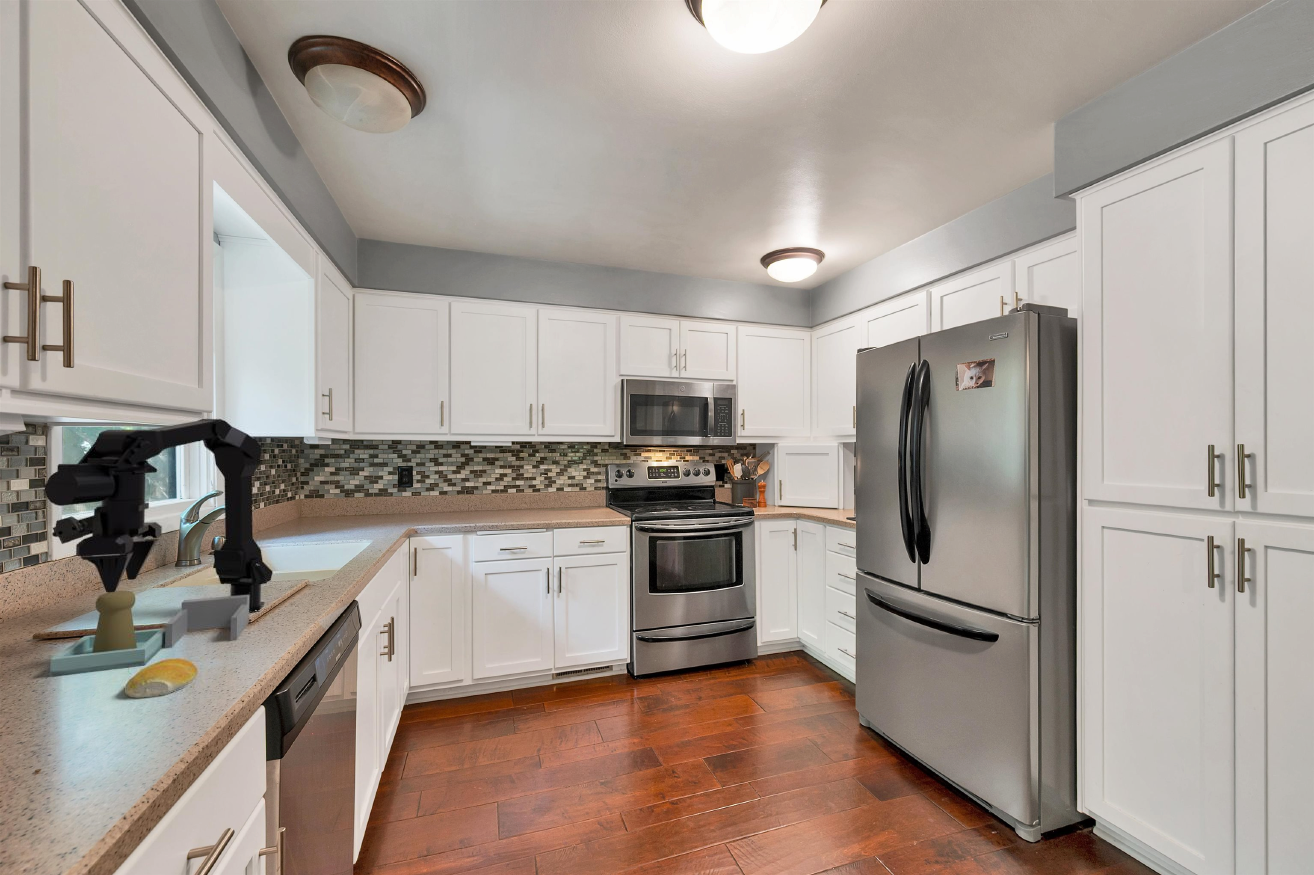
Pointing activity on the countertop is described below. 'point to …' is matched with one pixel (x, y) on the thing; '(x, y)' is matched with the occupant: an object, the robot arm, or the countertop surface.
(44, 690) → the countertop surface
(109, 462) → the robot arm
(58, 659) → the tray
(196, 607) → the bay
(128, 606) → the cork
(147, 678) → the bread roll
